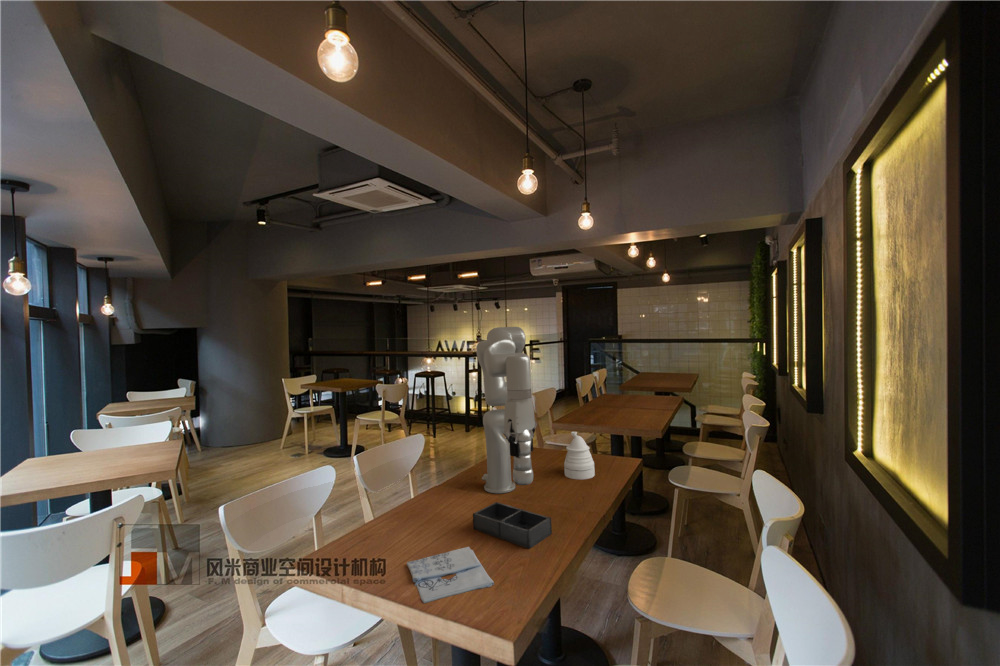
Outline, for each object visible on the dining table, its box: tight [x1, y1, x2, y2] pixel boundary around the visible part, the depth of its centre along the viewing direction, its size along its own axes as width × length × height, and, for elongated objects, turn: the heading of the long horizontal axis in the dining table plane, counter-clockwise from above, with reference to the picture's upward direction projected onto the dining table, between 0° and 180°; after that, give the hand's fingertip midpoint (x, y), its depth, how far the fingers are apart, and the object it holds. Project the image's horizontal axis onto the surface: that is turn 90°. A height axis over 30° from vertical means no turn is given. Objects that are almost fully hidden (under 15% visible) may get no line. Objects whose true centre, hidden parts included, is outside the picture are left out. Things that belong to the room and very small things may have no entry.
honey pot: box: [563, 431, 596, 480], centre depth 190 cm, size 13×13×18 cm
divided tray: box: [472, 501, 553, 550], centre depth 139 cm, size 22×12×5 cm, turn 50°
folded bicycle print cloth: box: [406, 546, 495, 604], centre depth 116 cm, size 19×20×2 cm
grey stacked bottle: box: [512, 430, 534, 486], centre depth 135 cm, size 6×7×20 cm
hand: (521, 452), depth 135 cm, fingers closed on grey stacked bottle, 6 cm apart
